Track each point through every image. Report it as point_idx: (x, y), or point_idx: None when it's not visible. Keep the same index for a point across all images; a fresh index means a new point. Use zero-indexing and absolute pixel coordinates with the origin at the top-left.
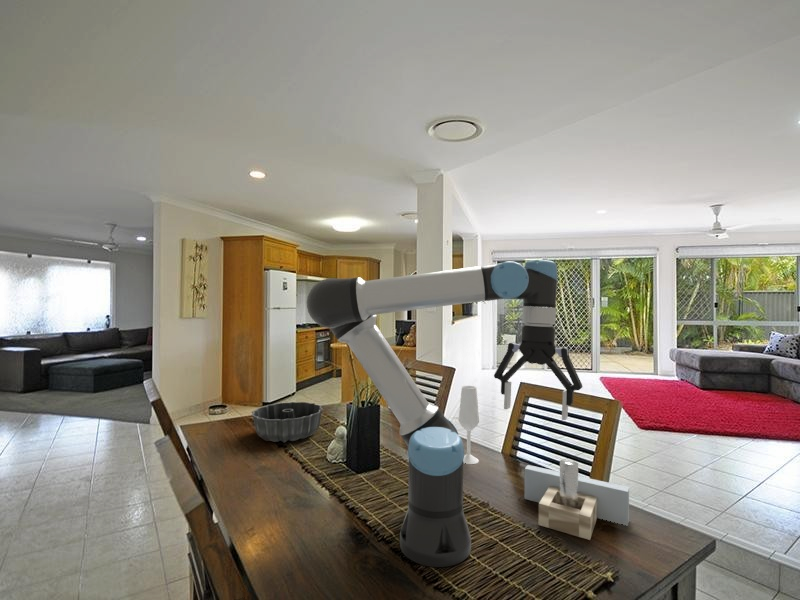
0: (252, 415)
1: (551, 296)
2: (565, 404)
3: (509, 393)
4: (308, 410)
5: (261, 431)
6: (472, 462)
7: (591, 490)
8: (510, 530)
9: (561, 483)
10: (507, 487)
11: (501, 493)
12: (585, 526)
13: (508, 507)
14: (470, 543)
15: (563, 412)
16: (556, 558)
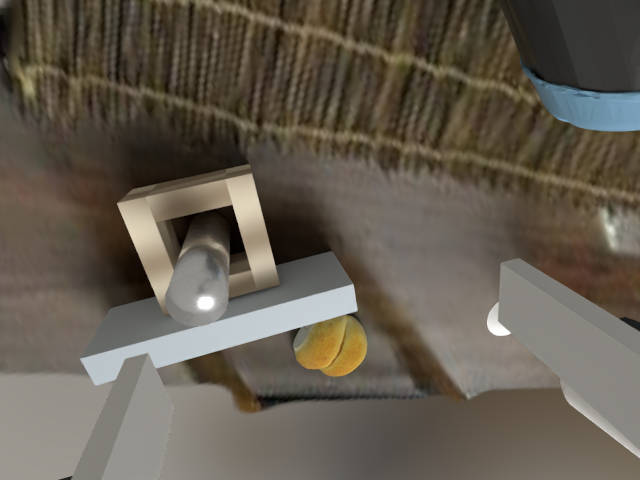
0: None
1: None
2: (81, 458)
3: (579, 361)
4: None
5: None
6: (496, 309)
7: (178, 322)
8: (286, 94)
9: (214, 249)
10: (384, 269)
11: (382, 234)
12: (136, 193)
13: (340, 188)
14: None
15: (121, 393)
16: (145, 56)
